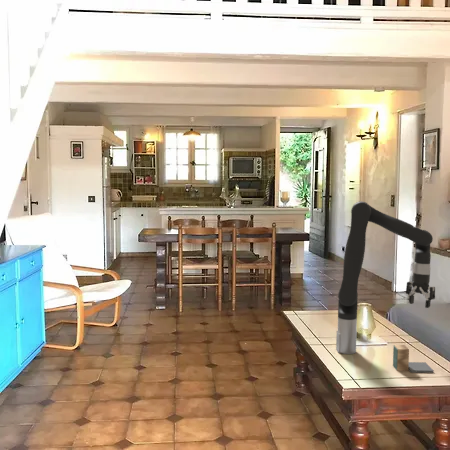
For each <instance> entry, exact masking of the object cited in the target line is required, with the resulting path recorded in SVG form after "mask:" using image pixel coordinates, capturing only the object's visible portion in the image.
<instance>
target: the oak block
mask: <svg viewBox="0 0 450 450" xmlns="http://www.w3.org/2000/svg"><path fill="white" fill-rule="evenodd" d="M392 350H393V351H392V352H393V353H392V357H393V358H392V366H393V368H395V370H396V371H397V372H409V370H408V367H409V362H410V348H409V347H407V346H406V344H393V349H392Z"/></svg>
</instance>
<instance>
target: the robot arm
mask: <svg viewBox="0 0 450 450" xmlns="http://www.w3.org/2000/svg"><path fill="white" fill-rule="evenodd" d="M350 213H351V216H350V222H351V223H350V230H349V234H348V236H347V240H346V244H345V248H344V255H343V270H342V271H343V272H342V273H343V274H342V280H341V286H340V288H339V290H338V294H337V298H338V304H337V305H338V308H337V330H336V338H335V339H336V342H335V343H336V345H335V346H336V347H335V350H336V351H337V353H338V354H339V353H340V354H343V355H352V354H356V353H357V326H358V325H357V324H358V298H359V297H358V288H359V287H358V285H359V277H360V274H361V272H362V267H363V264H364V263H363V262H364V258H365V253H366V241H367V240H366V235H367V228H368V223H369V222H370V223H373V224H375V225H378V226H379V227H381V228H383V229H385V230H387V231H389V232H391V233H393V234H395V235H397V236H400V237H402V238H405V239H408V240H409V241H411V242H413V243H415V244H414V245H415V246H414V248H415V252H414V263H413V270H412V272H413V273H412V281H407V282H406V288H405V293H406V295H408V297H409V298H408V302H409V304H411V305H413V304H414V302H415V295H416V294H421V295H423V297H424V298H425V305H424V306H425V309H429V308H430V307H431V302H432V300H435V299H436V287H435V286H430V285H429V284H430V279H431V260H432V259H431V258H432V256H431V255H432V254H431V244H432V242H433V240H434V239H433V235H432V233H430V231H429V230H425V229H421V228H418V227H416V226H414V225H413V224H411V223H408V221H407V222H406V221H404V220H402V219H399V218H396V217H393V216H391V215H389V214H386V213H383V212H381V211H380V210H378V209H376V208H374V207H373V206H371V205H370V204H369V203H368V202H365V201H362V200H361V201H358V202H355V203H354V204H353V205H352V206H351V211H350Z"/></svg>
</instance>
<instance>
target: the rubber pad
mask: <svg viewBox="0 0 450 450" xmlns="http://www.w3.org/2000/svg"><path fill="white" fill-rule="evenodd" d="M408 372H410V373H419V374H420V373H421V374H422V373H424V374H426V373H428V374H429V373H430V374H434V373H435V371H434V369H433V368H432V367H431V366H430V365H428V363H427V362H425V361H424V362H422V361H421V362H419V361H409V367H408Z"/></svg>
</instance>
